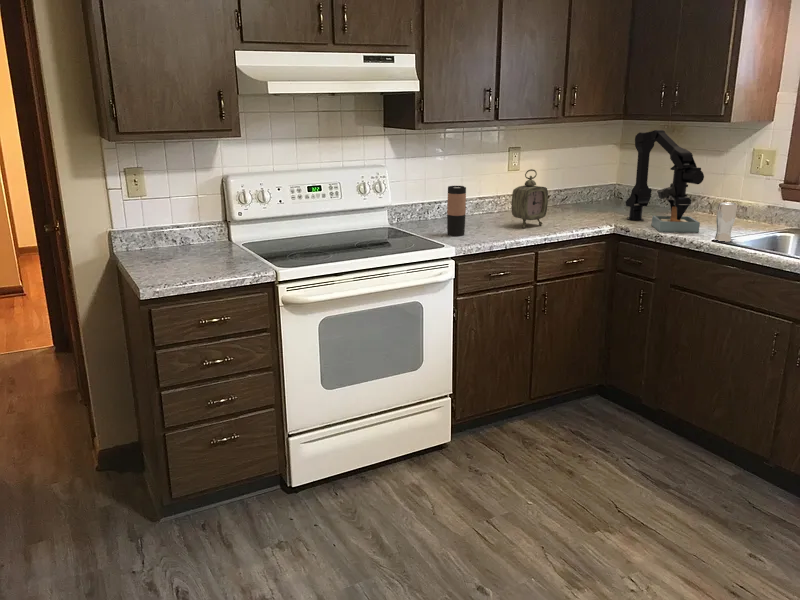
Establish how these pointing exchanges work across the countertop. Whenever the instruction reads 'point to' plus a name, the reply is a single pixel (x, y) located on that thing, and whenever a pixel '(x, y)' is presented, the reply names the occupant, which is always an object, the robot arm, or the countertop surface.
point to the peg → (674, 215)
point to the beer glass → (725, 220)
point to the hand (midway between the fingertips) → (675, 217)
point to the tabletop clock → (529, 201)
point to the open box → (675, 224)
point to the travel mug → (456, 210)
